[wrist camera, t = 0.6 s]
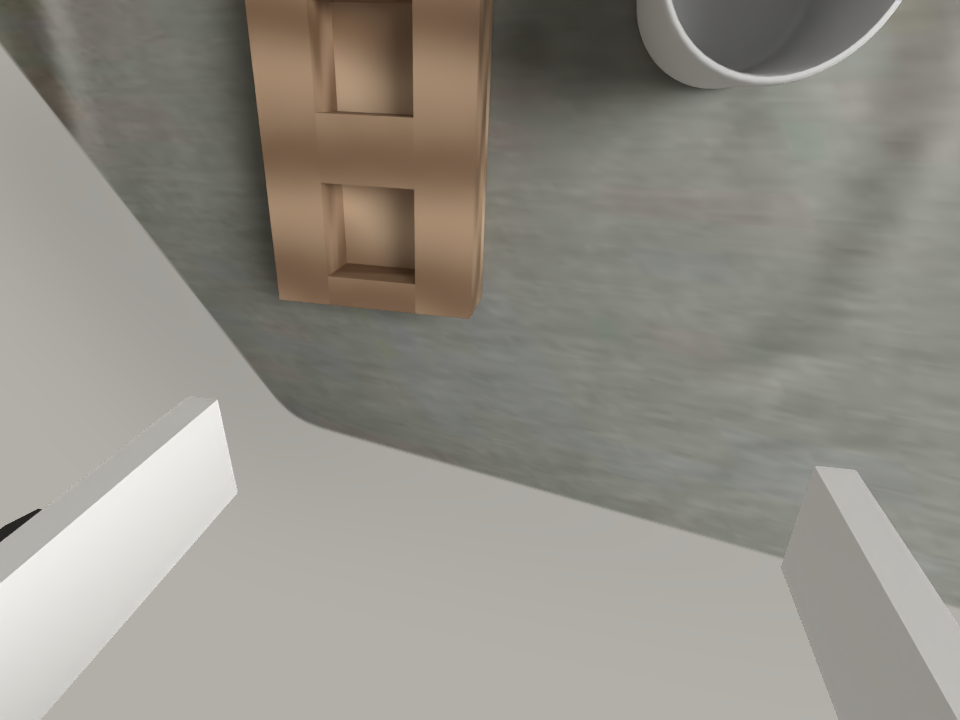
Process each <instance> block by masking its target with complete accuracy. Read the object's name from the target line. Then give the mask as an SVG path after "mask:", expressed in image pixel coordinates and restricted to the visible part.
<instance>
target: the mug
mask: <svg viewBox="0 0 960 720" xmlns="http://www.w3.org/2000/svg"><path fill="white" fill-rule="evenodd" d="M901 1H902V0H637V21H638V27H639V31H640V35H641V38H642V40H643V43H644V45H645V48H646V49H647V51H648V53H649V55H650V56H651V58H652V59H653V60H654V62H655V63H656V64H657V65H658V66H659V67H660V68H661V69H662V70H663V71H664V72H665V73H666V74H668V75H669V76H671V77H672V78H673V79H675V80H677V81H679V82H681V83H684V84H687V85H690V86H693V87H698V88H704V89H721V88H730V87H754V86H770V85H779V84H785V83H789V82H793V81H797V80H801V79H804V78H807V77H809V76H812V75H815V74H817V73H819V72H821V71H823V70H825V69H827V68H829V67H831V66H833V65H835V64H837V63H838V62H840V61H841V60H843V59H844V58H846V57H847V56H849V55H851V54H852V53H853V52H854V51H856V50H857V49H858V48H859V47H861V46H862V45H863V44H864V43H866V42H867V41H868V40H869V39H870V38H871V37H872V36H873V35H874V34H875V33H876V32H877V31H878V30H879V29H880V28H881V27H882V26H883V25H884V23H885V22H886V21H887V20H888V19H889V17H890V16H891V15H892V14H893V13H894V11H895V10H896V9H897V7H898V6H899V4H900V3H901Z"/></svg>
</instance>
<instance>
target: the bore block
mask: <svg viewBox="0 0 960 720" xmlns="http://www.w3.org/2000/svg"><path fill="white" fill-rule="evenodd" d="M493 6H494V0H245V7H246V15H247V24H248V33H249V41H250V50H251V58H252V67H253V75H254V84H255V93H256V101H257V110H258V118H259V127H260V135H261V144H262V153H263V161H264V170H265V178H266V187H267V195H268V204H269V213H270V221H271V230H272V238H273V247H274V256H275V264H276V273H277V281H278V290H279V298H280V300H289V301H299V302H309V303H319V304H328V305H338V306H348V307H358V308H368V309H378V310H387V311H397V312H407V313H417V314H427V315H437V316H447V317H456V318H466V319H470V317H471V315H472V313H473V312H474V310H475V308H476V306H477V304H478V303H479V301H480V299H481V295H482V271H483V247H484V223H485V198H486V174H487V150H488V126H489V102H490V78H491V54H492V30H493Z"/></svg>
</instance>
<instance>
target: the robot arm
mask: <svg viewBox="0 0 960 720" xmlns="http://www.w3.org/2000/svg"><path fill="white" fill-rule="evenodd" d="M236 494H237V487H236V483H235V478H234V474H233V469H232V464H231V460H230V455H229V450H228V446H227V441H226V436H225V432H224V427H223V423H222V418H221V413H220V409H219V404H218V400H217V399H208V398H199V397H190V396H188V397H187V398H185V399H184V400H183V401H182V402H180V403H179V404H178V405H176V406H175V407H174V408H172V409H171V410H170V411H169V412H167V413H166V414H165V415H163V416H162V417H161V418H160V419H158V420H157V421H156V422H155V423H153V424H152V425H151V426H149V427H148V428H147V429H145V430H144V431H143V432H142V433H140V434H139V435H138V436H136V437H135V438H134V439H133V440H131V441H130V442H129V443H127V444H126V445H125V446H124V447H122V448H121V449H120V450H118V451H117V452H116V453H114V454H113V455H112V456H111V457H109V458H108V459H107V460H106V461H104V462H103V463H102V464H100V465H99V466H98V467H97V468H95V469H94V470H93V471H91V472H90V473H89V474H87V475H86V476H85V477H84V478H82V479H81V480H80V481H78V482H77V483H76V484H75V485H73V486H72V487H71V488H69V489H68V490H67V491H66V492H64V493H63V494H62V495H60V496H59V497H58V498H57V499H55V500H54V501H53V502H51V503H50V504H49V505H48V506H46V507H45V508H44V509H37V510H35V511H33V512H31V513H29V514H27V515H25V516H23V517H21V518H19V519H17V520H15V521H13V522H11V523H9V524H7V525H5V526H4V527H2V528H1V529H0V720H41V719H42V717H43V716H44V715H45V714H46V713H47V712H48V711H49V709H50V708H51V707H52V706H53V705H54V704H55V702H56V701H57V700H58V699H59V698H60V697H61V696H62V694H63V693H64V692H65V691H66V690H67V689H68V687H69V686H70V685H71V684H72V683H73V682H74V681H75V679H76V678H77V677H78V676H79V675H80V674H81V672H82V671H83V670H84V669H85V668H86V667H87V665H88V664H89V663H90V662H91V661H92V660H93V659H94V657H95V656H96V655H97V654H98V653H99V652H100V651H101V649H102V648H103V647H104V646H105V645H106V644H107V642H108V641H109V640H110V639H111V638H112V637H113V636H114V634H115V633H116V632H117V631H118V630H119V629H120V628H121V626H122V625H123V624H124V623H125V622H126V620H127V619H128V618H129V617H130V616H131V615H132V614H133V613H134V611H135V610H136V609H137V608H138V607H139V606H140V604H141V603H142V602H143V601H144V599H146V598H147V596H148V595H149V594H150V593H151V592H152V591H153V589H154V588H155V587H156V586H157V585H158V584H159V582H160V581H161V580H162V579H163V578H164V577H165V575H166V574H167V573H168V572H169V571H170V570H171V569H172V568H173V566H174V565H175V564H176V563H177V562H178V561H179V559H180V558H181V557H182V556H183V555H184V554H185V553H186V551H187V550H188V549H189V548H190V547H191V545H192V544H193V543H194V542H195V541H196V540H197V538H199V536H200V535H201V534H202V533H203V532H204V531H205V529H206V528H207V527H208V526H209V525H210V524H211V522H212V521H213V520H214V519H215V518H216V517H217V516H218V514H219V513H220V512H221V511H222V510H223V509H224V508H225V506H226V505H227V504H228V503H229V502H230V501H231V499H232V498H233V497H234V496H235V495H236ZM781 568H782V571H783V573H784V576H785V579H786V582H787V584H788V587H789V589H790V592H791V595H792V597H793V600H794V603H795V605H796V608H797V611H798V613H799V616H800V619H801V621H802V624H803V626H804V629H805V632H806V634H807V637H808V640H809V642H810V645H811V647H812V650H813V653H814V656H815V658H816V661H817V664H818V666H819V669H820V672H821V674H822V677H823V679H824V682H825V685H826V687H827V690H828V692H829V695H830V698H831V701H832V703H833V706H834V709H835V711H836V714H837V716H838V719H839V720H960V627H959V625H958V624H957V622H956V621H955V619H954V618H953V616H952V615H951V613H950V612H949V610H948V609H947V607H946V605H945V604H944V602H943V601H942V599H941V598H940V596H939V595H938V593H937V592H936V590H935V589H934V587H933V586H932V584H931V583H930V581H929V580H928V578H927V577H926V575H925V574H924V572H923V571H922V569H921V568H920V566H919V565H918V563H917V562H916V560H915V559H914V557H913V556H912V554H911V553H910V551H909V550H908V548H907V547H906V545H905V544H904V542H903V541H902V539H901V538H900V536H899V535H898V533H897V532H896V530H895V529H894V527H893V525H892V524H891V522H890V521H889V519H888V518H887V516H886V515H885V513H884V512H883V510H882V509H881V507H880V506H879V504H878V503H877V501H876V500H875V498H874V497H873V495H872V494H871V492H870V491H869V489H868V488H867V486H866V485H865V483H864V482H863V480H862V479H861V477H860V476H859V474H858V473H857V471H856V470H849V469H840V468H831V467H822V466H814V469H813V472H812V475H811V478H810V481H809V484H808V487H807V490H806V493H805V496H804V499H803V502H802V505H801V508H800V511H799V514H798V517H797V520H796V523H795V526H794V529H793V532H792V535H791V538H790V541H789V545H788V548H787V551H786V554H785V557H784V560H783V563H782V566H781Z"/></svg>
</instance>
